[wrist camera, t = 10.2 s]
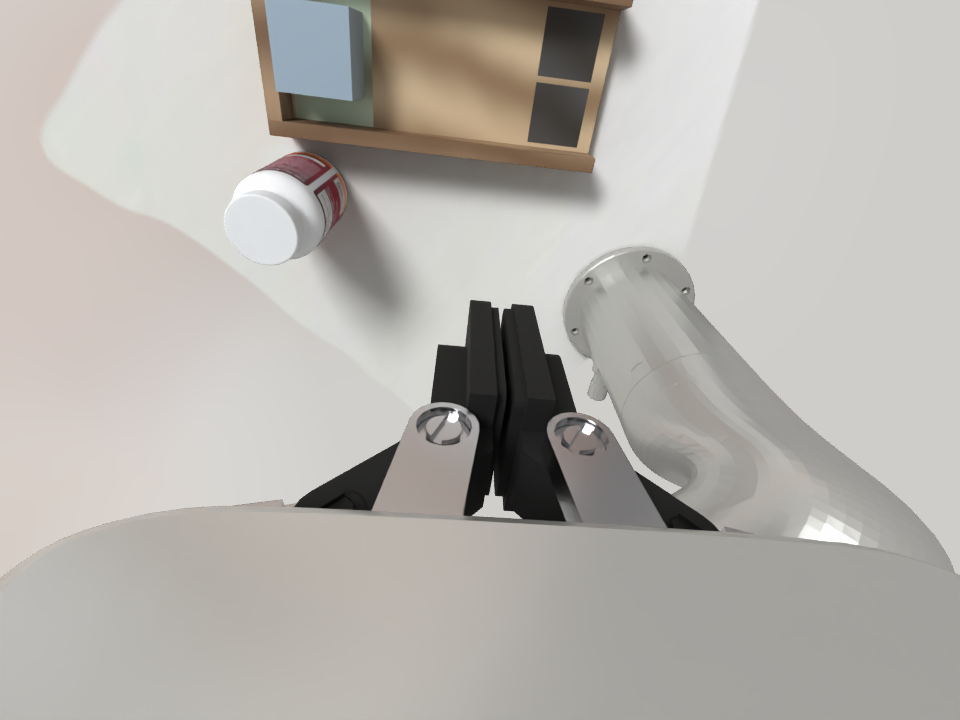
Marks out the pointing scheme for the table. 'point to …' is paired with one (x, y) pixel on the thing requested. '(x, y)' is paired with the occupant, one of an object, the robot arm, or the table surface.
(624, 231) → the table surface
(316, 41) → the block
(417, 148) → the box
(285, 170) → the pill bottle
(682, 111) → the table surface
